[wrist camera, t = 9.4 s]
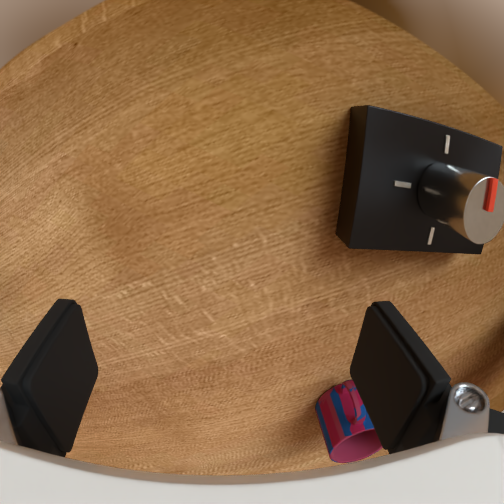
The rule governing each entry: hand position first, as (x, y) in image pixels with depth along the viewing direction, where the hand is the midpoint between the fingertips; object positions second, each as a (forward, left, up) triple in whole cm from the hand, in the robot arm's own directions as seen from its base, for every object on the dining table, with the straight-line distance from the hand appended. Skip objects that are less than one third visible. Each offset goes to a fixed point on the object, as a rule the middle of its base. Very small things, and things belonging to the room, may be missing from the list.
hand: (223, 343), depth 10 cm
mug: (+19, +14, -15) cm, 28 cm away
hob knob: (-4, +16, -12) cm, 20 cm away
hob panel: (-4, +16, -15) cm, 22 cm away
